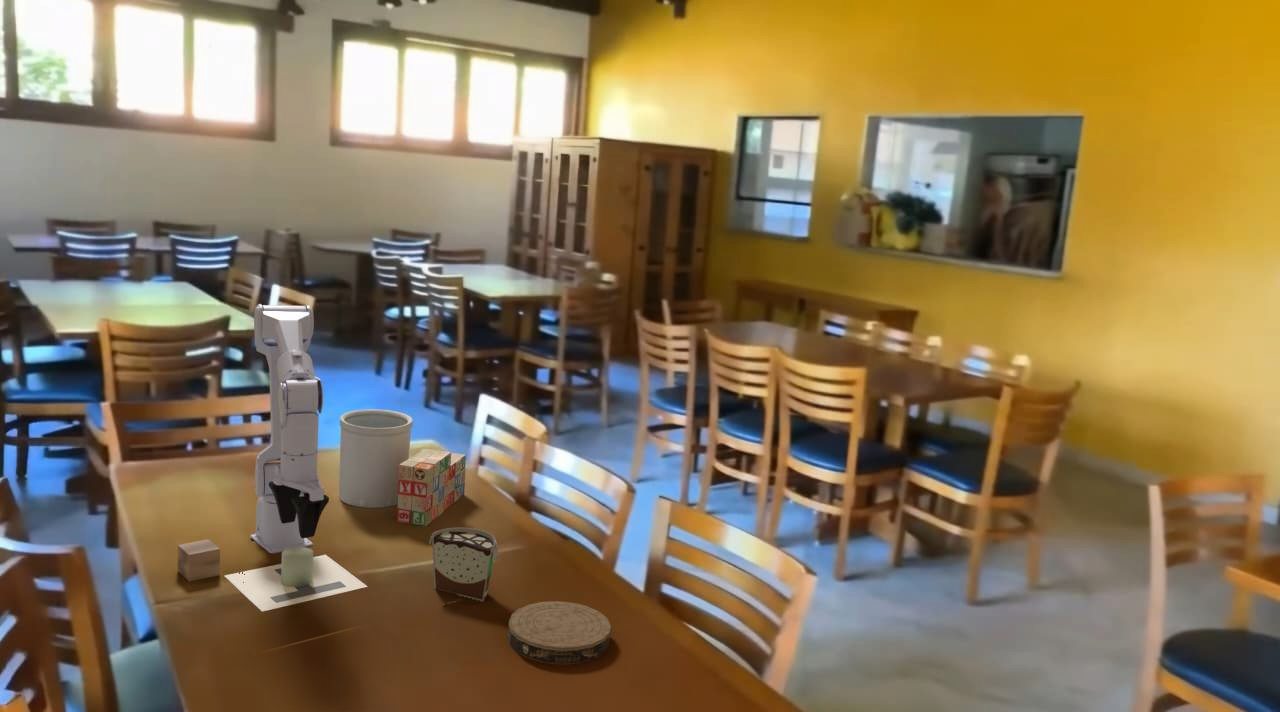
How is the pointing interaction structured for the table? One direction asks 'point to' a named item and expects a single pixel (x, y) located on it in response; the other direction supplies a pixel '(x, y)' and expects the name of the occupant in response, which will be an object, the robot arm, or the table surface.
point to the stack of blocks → (429, 485)
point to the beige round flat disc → (559, 632)
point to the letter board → (273, 594)
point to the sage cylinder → (297, 567)
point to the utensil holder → (372, 456)
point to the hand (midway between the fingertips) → (297, 529)
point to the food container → (463, 561)
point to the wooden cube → (198, 560)
